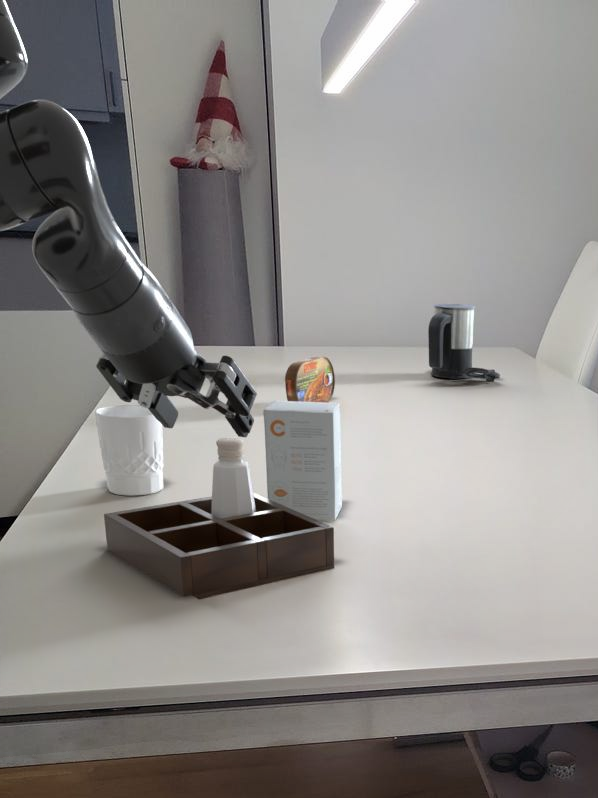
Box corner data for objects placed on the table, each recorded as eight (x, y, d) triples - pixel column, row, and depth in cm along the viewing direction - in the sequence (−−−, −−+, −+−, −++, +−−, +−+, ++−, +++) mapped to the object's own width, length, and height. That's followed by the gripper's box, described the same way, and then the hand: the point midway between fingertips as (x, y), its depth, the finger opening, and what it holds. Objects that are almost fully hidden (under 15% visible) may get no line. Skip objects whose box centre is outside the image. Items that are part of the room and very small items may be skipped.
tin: (298, 414, 181) (297, 364, 177) (282, 412, 181) (280, 363, 178) (336, 400, 194) (336, 354, 190) (321, 398, 195) (320, 352, 191)
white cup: (157, 498, 128) (150, 418, 125) (94, 496, 128) (85, 415, 125) (175, 482, 136) (169, 406, 132) (115, 480, 136) (107, 403, 132)
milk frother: (435, 371, 230) (436, 302, 225) (505, 376, 229) (508, 306, 223) (423, 381, 217) (424, 308, 212) (497, 386, 216) (500, 312, 210)
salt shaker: (199, 542, 111) (192, 441, 107) (227, 529, 116) (221, 431, 112) (243, 550, 110) (238, 447, 105) (269, 536, 114) (265, 437, 110)
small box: (342, 507, 128) (341, 402, 123) (335, 522, 123) (333, 412, 117) (277, 504, 128) (273, 399, 123) (267, 519, 122) (262, 409, 117)
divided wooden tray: (184, 602, 97) (180, 557, 95) (107, 555, 108) (103, 513, 107) (334, 568, 108) (334, 527, 106) (250, 528, 119) (248, 490, 117)
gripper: (217, 289, 89) (283, 402, 104) (78, 278, 93) (161, 388, 108) (187, 360, 87) (259, 465, 101) (45, 345, 91) (135, 448, 105)
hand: (209, 425), depth 105 cm, fingers open, 8 cm apart
